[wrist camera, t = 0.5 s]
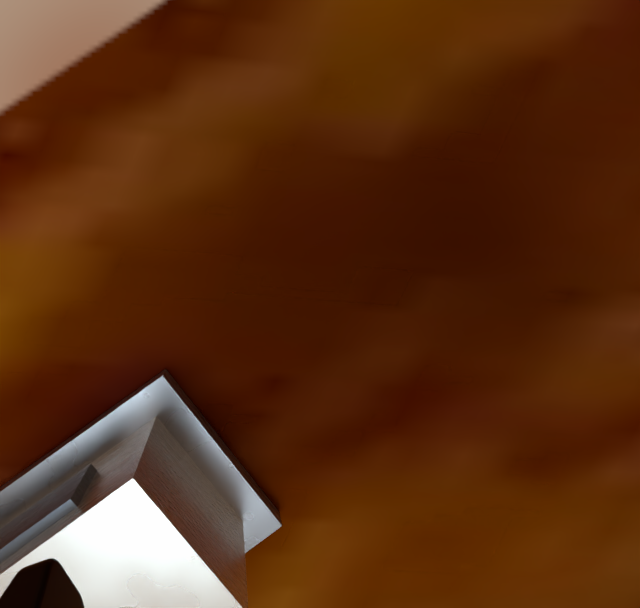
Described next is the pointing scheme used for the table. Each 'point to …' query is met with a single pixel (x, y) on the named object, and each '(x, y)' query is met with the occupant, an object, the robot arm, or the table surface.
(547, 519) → the table surface
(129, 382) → the table surface
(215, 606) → the service unit
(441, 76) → the table surface
